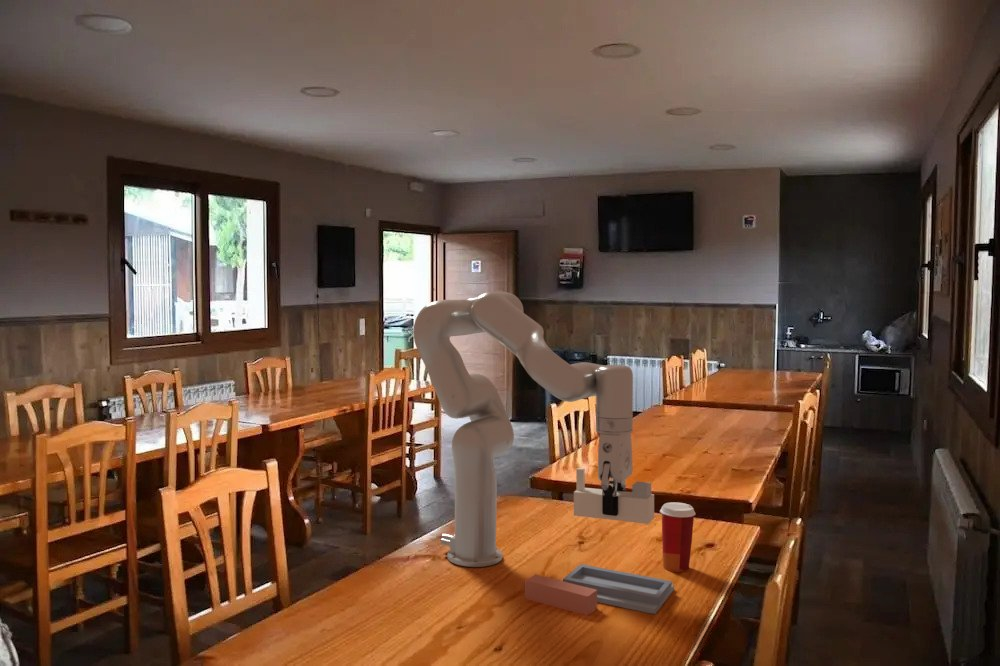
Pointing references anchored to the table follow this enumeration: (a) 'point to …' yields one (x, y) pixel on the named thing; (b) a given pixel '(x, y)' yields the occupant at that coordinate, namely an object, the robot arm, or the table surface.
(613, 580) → the tray
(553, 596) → the block
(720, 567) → the table surface
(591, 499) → the white notched block
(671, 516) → the paper cup
